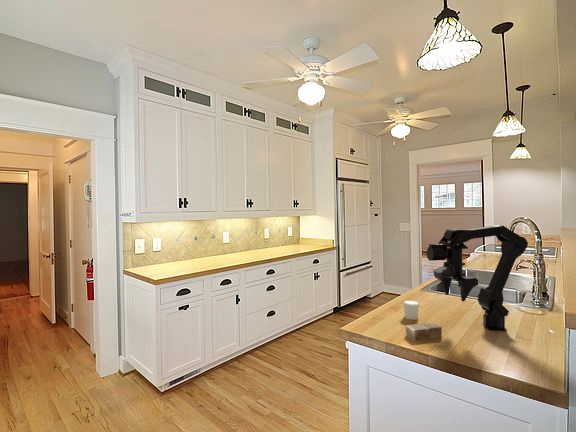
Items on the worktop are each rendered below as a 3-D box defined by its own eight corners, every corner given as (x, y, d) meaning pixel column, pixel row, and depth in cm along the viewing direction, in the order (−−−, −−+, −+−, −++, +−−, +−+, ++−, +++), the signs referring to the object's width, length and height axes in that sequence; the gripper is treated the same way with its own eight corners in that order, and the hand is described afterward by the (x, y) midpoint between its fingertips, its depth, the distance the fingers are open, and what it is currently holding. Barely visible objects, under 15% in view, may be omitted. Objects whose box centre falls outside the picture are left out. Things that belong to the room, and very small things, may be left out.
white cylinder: (421, 320, 135) (420, 305, 135) (404, 319, 136) (404, 304, 136) (417, 315, 142) (417, 300, 142) (402, 314, 143) (401, 299, 143)
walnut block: (433, 322, 123) (405, 325, 121) (441, 327, 118) (413, 330, 116) (433, 332, 123) (406, 335, 121) (441, 337, 118) (413, 340, 116)
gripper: (422, 257, 132) (422, 292, 132) (453, 265, 113) (453, 307, 114) (445, 255, 134) (445, 290, 134) (479, 263, 115) (479, 304, 116)
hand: (454, 297), depth 125 cm, fingers open, 9 cm apart
